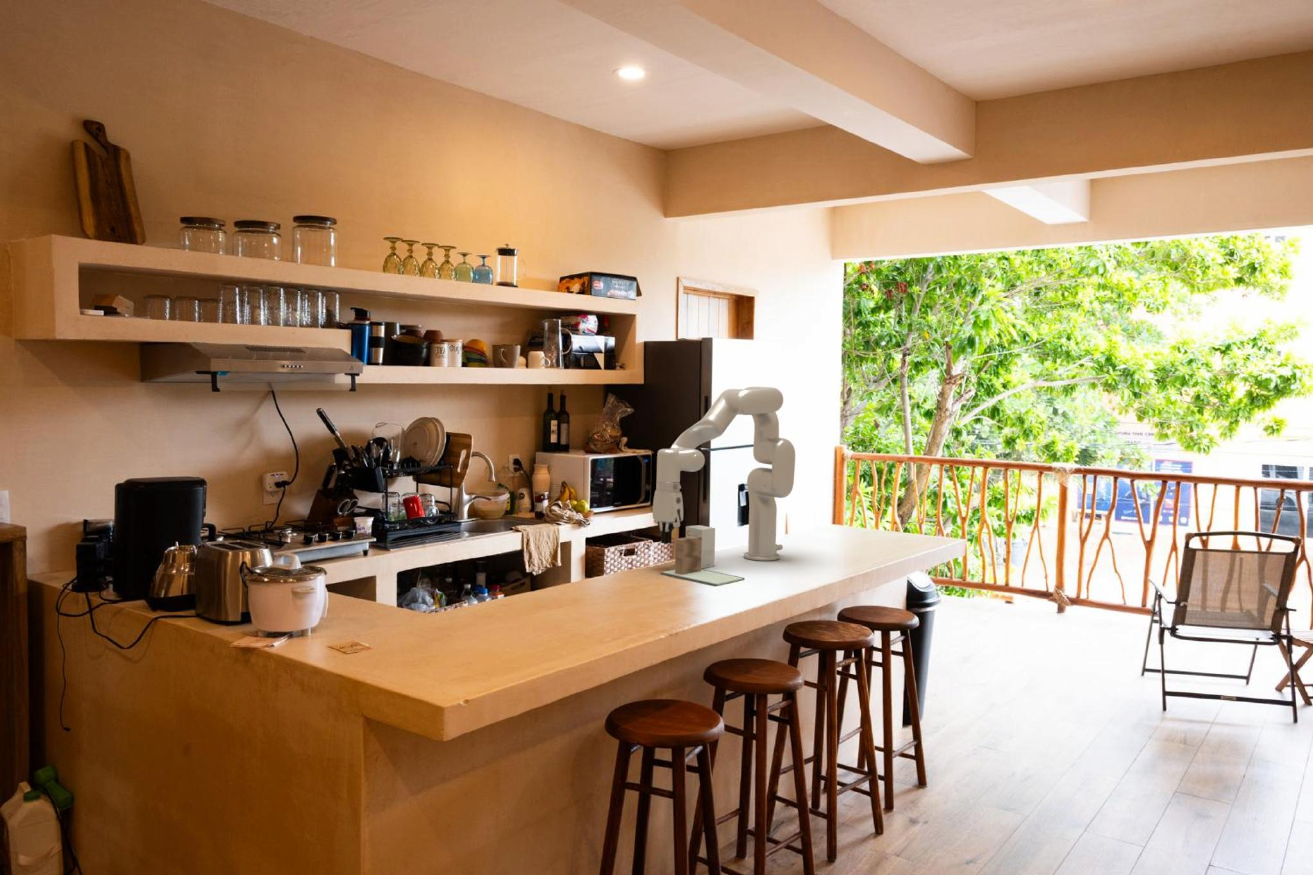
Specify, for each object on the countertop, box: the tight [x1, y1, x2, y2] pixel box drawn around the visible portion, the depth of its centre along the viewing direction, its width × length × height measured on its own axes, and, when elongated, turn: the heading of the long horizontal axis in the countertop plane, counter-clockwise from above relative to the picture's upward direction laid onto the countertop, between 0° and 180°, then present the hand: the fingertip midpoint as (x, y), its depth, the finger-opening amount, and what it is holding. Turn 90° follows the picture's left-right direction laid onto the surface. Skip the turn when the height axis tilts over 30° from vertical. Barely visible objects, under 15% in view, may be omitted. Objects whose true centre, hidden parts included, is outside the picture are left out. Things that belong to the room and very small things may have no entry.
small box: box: [685, 524, 716, 569], centre depth 321 cm, size 8×6×13 cm
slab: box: [674, 536, 702, 575], centre depth 308 cm, size 9×3×11 cm, turn 136°
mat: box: [659, 568, 745, 587], centre depth 304 cm, size 14×23×1 cm, turn 46°
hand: (666, 542), depth 314 cm, fingers closed
